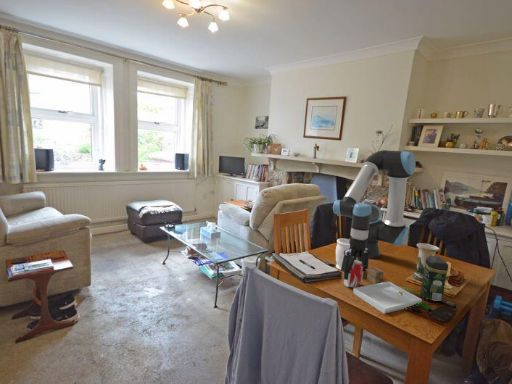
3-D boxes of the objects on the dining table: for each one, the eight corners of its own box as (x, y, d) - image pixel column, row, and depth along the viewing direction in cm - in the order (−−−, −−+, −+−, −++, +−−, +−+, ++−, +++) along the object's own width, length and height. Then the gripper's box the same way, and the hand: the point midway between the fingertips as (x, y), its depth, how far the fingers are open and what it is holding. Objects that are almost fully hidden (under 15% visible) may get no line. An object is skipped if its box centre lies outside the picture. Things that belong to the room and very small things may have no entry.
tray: (387, 285, 136) (388, 281, 136) (421, 304, 121) (422, 299, 121) (352, 292, 127) (353, 288, 126) (384, 314, 112) (385, 308, 111)
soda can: (358, 290, 129) (361, 265, 127) (342, 285, 133) (345, 261, 131) (361, 285, 135) (365, 261, 133) (346, 280, 139) (349, 257, 137)
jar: (355, 273, 147) (358, 245, 145) (334, 270, 149) (337, 243, 147) (352, 265, 157) (355, 239, 155) (333, 262, 159) (336, 237, 157)
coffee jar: (418, 290, 133) (424, 252, 130) (437, 294, 131) (444, 255, 128) (423, 300, 124) (430, 260, 121) (444, 304, 122) (452, 263, 119)
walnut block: (373, 278, 143) (375, 267, 142) (381, 283, 139) (383, 271, 138) (366, 279, 141) (368, 268, 140) (374, 284, 137) (376, 272, 136)
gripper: (368, 233, 138) (362, 277, 141) (336, 236, 129) (330, 283, 133) (381, 238, 131) (374, 285, 135) (347, 241, 123) (341, 291, 126)
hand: (352, 284), depth 134 cm, fingers closed on soda can, 7 cm apart
